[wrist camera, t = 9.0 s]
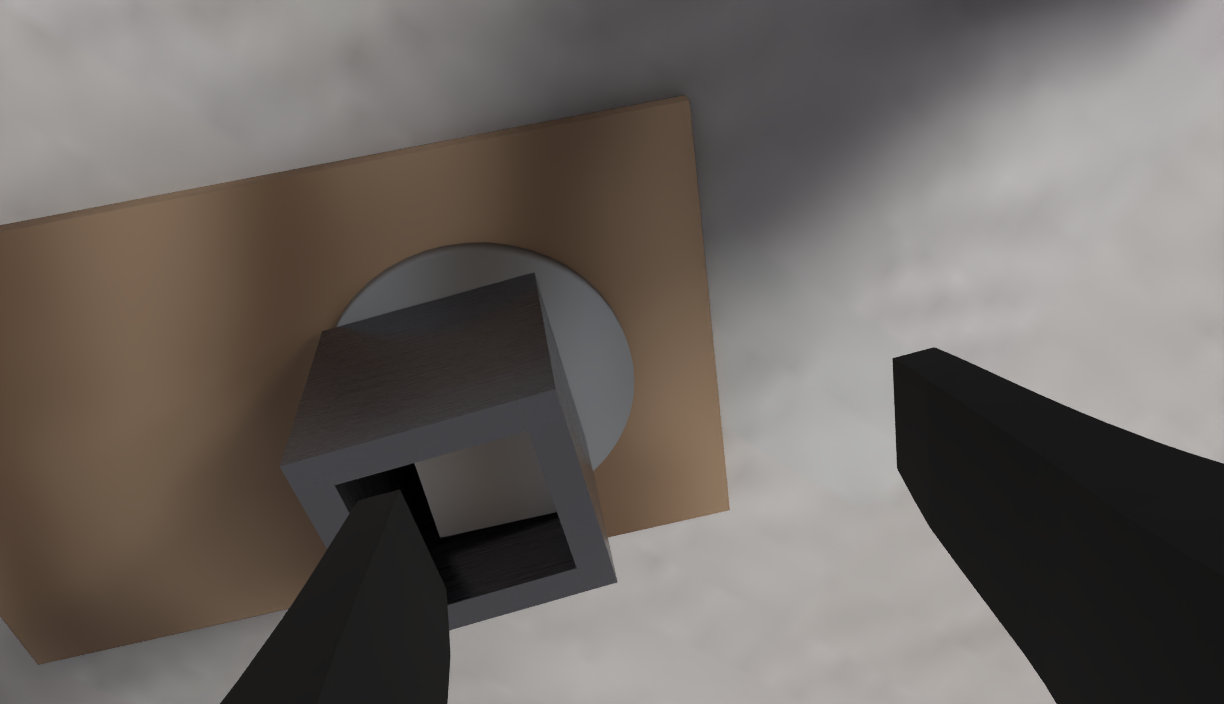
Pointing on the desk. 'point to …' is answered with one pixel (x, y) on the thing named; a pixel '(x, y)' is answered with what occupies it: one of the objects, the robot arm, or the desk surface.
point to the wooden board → (285, 348)
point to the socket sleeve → (454, 440)
